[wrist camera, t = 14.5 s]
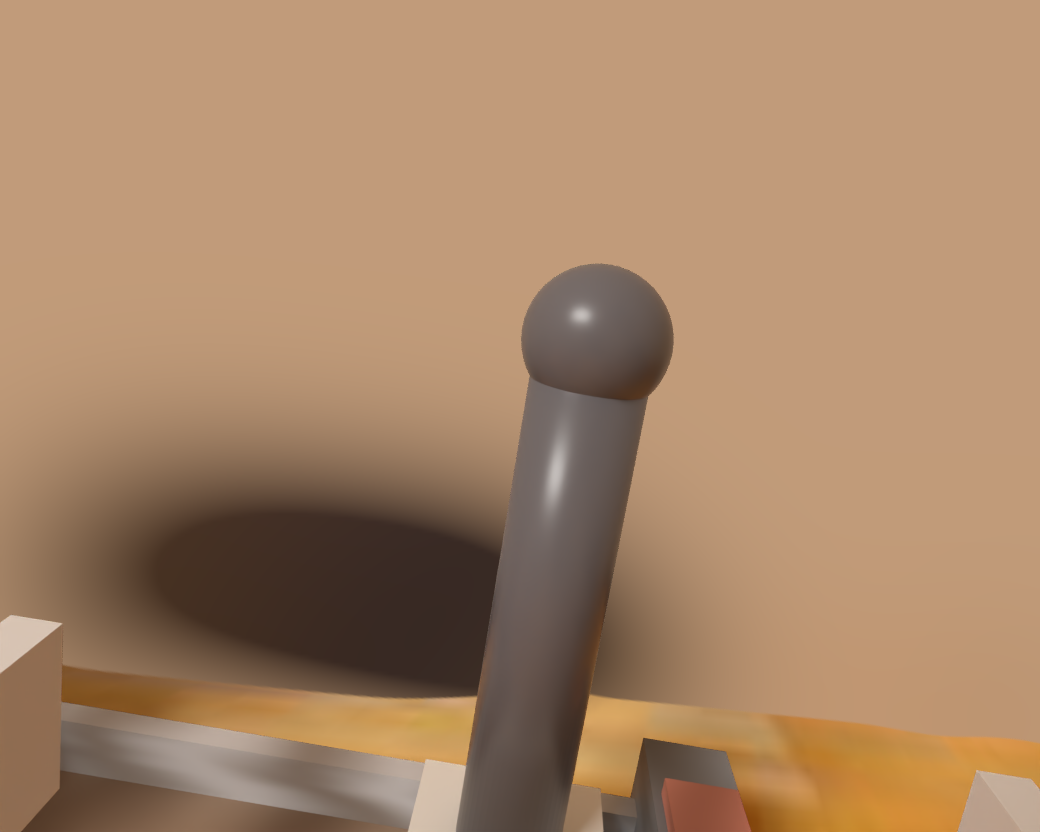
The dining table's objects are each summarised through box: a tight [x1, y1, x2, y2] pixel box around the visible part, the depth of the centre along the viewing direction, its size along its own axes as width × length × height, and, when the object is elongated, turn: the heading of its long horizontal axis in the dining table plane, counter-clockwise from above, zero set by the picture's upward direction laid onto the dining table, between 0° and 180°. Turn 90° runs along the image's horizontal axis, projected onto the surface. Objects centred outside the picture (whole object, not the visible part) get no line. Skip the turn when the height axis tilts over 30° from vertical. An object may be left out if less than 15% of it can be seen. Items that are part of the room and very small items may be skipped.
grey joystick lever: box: [408, 264, 673, 832], centre depth 24 cm, size 6×6×20 cm
